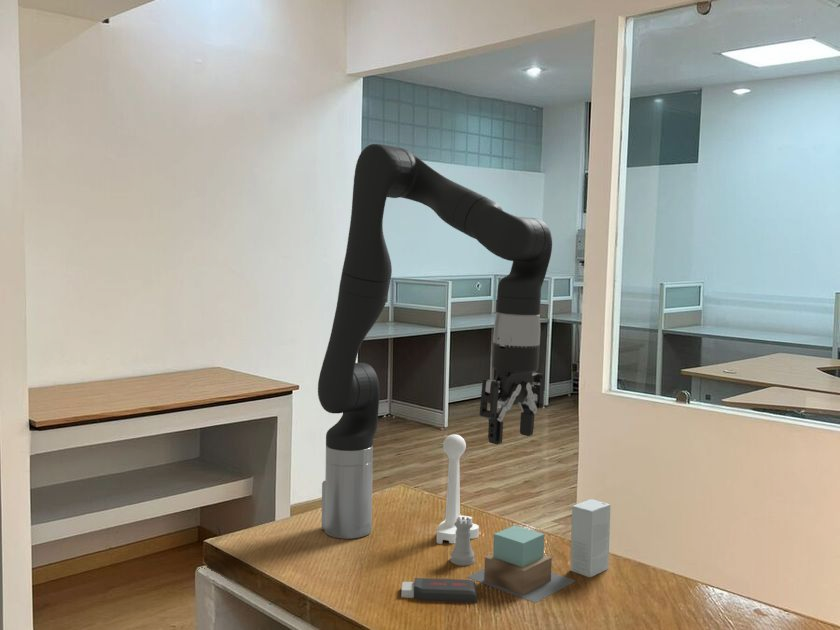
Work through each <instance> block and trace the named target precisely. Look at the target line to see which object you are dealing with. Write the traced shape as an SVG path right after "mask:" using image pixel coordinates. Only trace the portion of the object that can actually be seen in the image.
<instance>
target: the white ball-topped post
mask: <svg viewBox="0 0 840 630" xmlns="http://www.w3.org/2000/svg"><path fill="white" fill-rule="evenodd" d="M442 447H443V451H444V453H445V454H446V455H447V457H448V468H447V469H448V472H447V484H446V502H445V519H444V520H443V521H441V522H440V523H439V525H438V526H437V529H436V543H437V544H440V545H442V544H443V542H444V541H448V543H449V544H455V543H456V536H457V534H456V531H457V528H456V526H455V522H456V521H457V519H458V517H460V519H462V517H465V519H466V518H467V517H468V518H469V519H471V523H472V524H473V526H472V527H471V528H470V532H471V534H470V540H472V539H473V540H474V539H477V538H479V535H480V532H479V531H480V527H479V526H480V525H478V524H476V523H473V516H468V515H461V502H460V501H461V499H460V497H461V495H460V494H461V493H460V492H461V491H460V490H461V489H460V488H461V486H460V483H461V480H460V477H461V474H460V471H461V470H460V466H461V465H460V458H461V457H462V455H463V454H464V453H465V451H466V450H467V449H466V448H467V443H466V440H465V439H464V438H463V437H462V436H461V435H459V434H456V433H455V434H450V435H448V436H446V438H445V439H444V440H443V445H442Z"/></svg>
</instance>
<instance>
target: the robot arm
mask: <svg viewBox="0 0 840 630" xmlns="http://www.w3.org/2000/svg"><path fill="white" fill-rule="evenodd" d="M354 168H355V169H354V175H353V186H352V199H351V200H352V201H351V212H350V213H351V215H350V223H349V230H348V237H347V242H346V243H347V244H346V251H345V257H344V261H343V266H342V269H341V270H342V271H341V276H340V281H339V288H338V294H337V301H336V308H335V312H334V317H333V323H332V326H331V327H332V328H331V332H330V336H329V340H328V343H327V344H328V345H327V347H326V351H325V354H324V358H323V360H322V361H323V362H322V365H321V369H320V373H319V377H318V383H317V397H318V400H319V404H320V406H321V407H322V408H323V410H324V411H325V412H327V413H329V414H342V415H341V417H340V418H339V420H338V421H337V422H336V423H335V424H333V425H332V427H330V428H329V429H328V430H327V431H326V434H325V477H324V478H325V479H324V480H323V481H322V483H321V529H322V530H323V531H324V533H325V534H326V535H328V536H329V537H332V538H338V539H346V540H347V539H359V538H362V537H365V536H369V534H370V533H371V532H372V520H373V519H372V518H373V517H372V515H373V514H372V513H373V470H374V469H373V468H374V467H373V463H374V462H373V461H374V460H373V457H374V446H373V445H374V437H375V435H376V432H377V429H378V424H379V423H378V420H379V408H380V407H379V406H380V405H379V404H380V383H379V378H378V377H379V376H378V375H377V373H376V371H375V369H374V368H373V366H371V365H370V364H368V363H366V362H357V358H358V354H359V352H360V348H361V346H362V344H363V343H364V341H365V338H366V337H367V335H368V333H369V332H370V331H371V329H372V328H373V326H374V325H375V323H376V322H377V320H378V319H379V317H380V316H381V314H382V313H383V311H384V309H385V306H386V304H387V300H388V297H389V290H390V284H391V279H392V275H393V273H392V272H393V271H392V270H393V269H392V261H391V258H390V253H389V250H388V247H387V244H386V243H387V242H386V240H385V235H384V230H383V229H384V228H383V224H384V223H383V222H384V221H383V220H384V212H385V206H386V202H387V198H390V199H397V198H402V199H406V200H409V201H414V202H417V203H420V204H422V205H424V206H426V207H429V208H430V209H431V210H432V211H433V212H434V213H435V214H436V216H438V217H439V218H440V220H442V221H443V222H444V223H446V224H447V225H449V226H450V227H452V228H453V229H455V230H457V231H459V232H461V233H462V234H465V235H467V236H469V237H470V238H472V239H475V240H476V241H477V242H478V243H479V244H481V246H483V247H484V248H485V249H487V251H488V252H490V253H491V254H493V255H495V256H496V257H499V258H500V259H503V260H506V261H511V262H512V265H511V268H510V272H509V274H507V275H506V276H504V277H502V278H500V280H499V282H498V284H497V285H498V286H497V291H496V293H497V296H496V313H495V318H494V319H495V320H494V324H493V336H492V337H493V339H492V354H491V355H492V356H491V367H492V369H494V370H495V371H496V375H495V376H496V377H495V379H494V380H493V379H483V381H482V385H481V393H480V405H479V416H480V417H482V418H485V419H487V420H488V429H487V430H488V432H487V433H488V434H487V438H488V439H487V440H488V442H489V443H490V444H493V445H501V444H502V443H503V434H504V433H503V429H504V421H503V419H504V417H505V415H506V413H507V411H509V410H511V408H512V406H513V405H516V404H518V406H519V408H520V410H521V412H520V421H519V422H520V423H519V434H520V435H521V436H526V437H531V436H533V434H534V425H535V415H536V414H537V412H538V410H539V409H540V410H542V409H543V407H544V402H545V401H544V400H545V399H544V396H545V392H544V391H545V374H544V373H540V372H537V371H538V369H539V362H540V345H541V330H542V329H541V316H540V313H541V299H542V297H541V296H542V287H543V285H544V281H545V278H546V274H547V272H548V267H549V264H550V260H551V256H552V250H553V237H552V233H551V230H550V227H549V226H548V225H547V223H546V222H544V220H541V219H539V218H535V217H525V216H517V215H513V214H511V213H509V212H508V211H507V212H506V211H504V210H503V208H502V206H501V205H500V204H499V203H497V202H496V201H494V200H493V199H491V198H489V197H487V196H485V195H483V194H481V193H478V192H476V191H475V190H473V189H471V188H468V187H466V186H463V185H461V184H459V183H457V182H455V181H454V180H451V179H449V178H447V177H446V176H444V175H442V174H441V173H439V172H437V171H436V170H435V169H434V168H432V167H431V166H430V165H429V164H427V163H426V162H424V161H423V160H422V159H420V158H419V157H418V156H416V155H415V154H414V153H412V152H411V151H409V150H407V149H405V148H401V147H397V146H391V145H386V144H380V143H371V144H369V145H367V146H366V147H364V148H363V150H362V151H361V152H360V153H359V155H358V158H357V160H356V164H355V167H354ZM535 395H537V398H536V397H535ZM536 399H537V400H536ZM488 404H489V409H488ZM498 409H499V410H498Z"/></svg>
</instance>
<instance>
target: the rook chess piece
mask: <svg viewBox="0 0 840 630" xmlns="http://www.w3.org/2000/svg"><path fill="white" fill-rule="evenodd" d="M472 523H473V522H472ZM472 523H471V519H469V518H468V517H467V518H466V519H465V517H462V519H460V517H458V519H457V521H456V522H455V526H456V528H457V531H456V534H457V536H456V540H455V543H454V547H453V549H452V551H451V552H450V556H451V557H450V559H449V560H450V562H451V563H452V564H453V565H456V566H470V565H473V564H474V563H476V559H475V557H476V556H475V553H474V551H473V548H472V545H471V539H470V534H471V532H470V528H471V527H472V526H473V524H474V523H473V524H472Z"/></svg>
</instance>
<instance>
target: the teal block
mask: <svg viewBox="0 0 840 630" xmlns="http://www.w3.org/2000/svg"><path fill="white" fill-rule="evenodd" d="M492 547H493V550H492V551H493V553H492V554H493V557H494V558H497V559H500V560H503V561H506V562H509V563H512V564H514V565H517V566H520V567H524V566H527V565H529V564H531V563H533V562H535V561H537V560H539V559H541V558H543V555H545V553H544V550H545V548H544V547H545V534H544V533H541V532H538V531H534V530H532V529H528V528H525V527H523V526H518V525H513V526H510V527H508V528H505V529H502V530H500V531H498V532H495V533H493V546H492Z"/></svg>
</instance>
